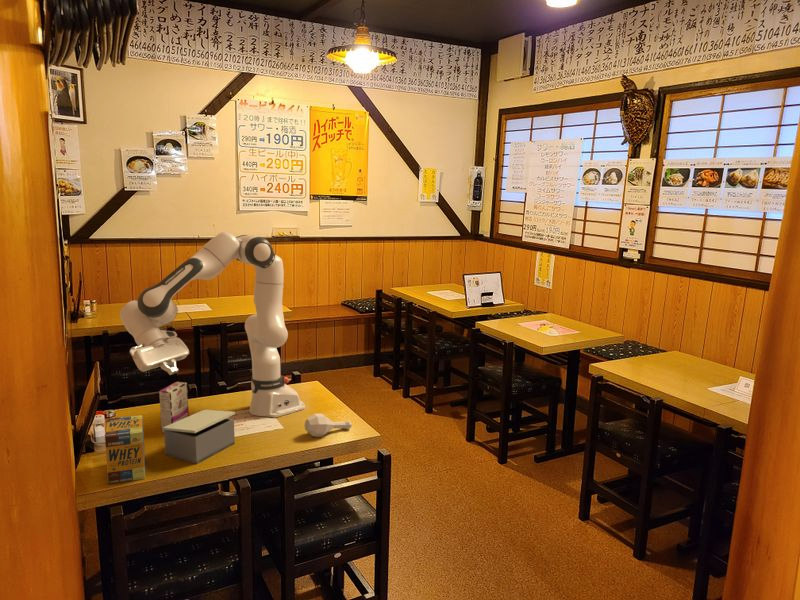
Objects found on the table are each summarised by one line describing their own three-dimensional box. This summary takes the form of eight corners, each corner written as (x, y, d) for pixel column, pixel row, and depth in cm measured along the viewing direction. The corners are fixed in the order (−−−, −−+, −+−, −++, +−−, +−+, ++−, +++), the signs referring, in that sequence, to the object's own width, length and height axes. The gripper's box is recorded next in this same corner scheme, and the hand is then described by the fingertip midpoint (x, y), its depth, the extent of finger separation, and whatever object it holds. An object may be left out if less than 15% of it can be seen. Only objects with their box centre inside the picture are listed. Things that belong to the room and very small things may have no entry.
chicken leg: (355, 435, 218) (355, 413, 220) (312, 436, 208) (312, 412, 210) (344, 437, 224) (344, 414, 226) (301, 437, 214) (302, 414, 216)
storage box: (165, 454, 196) (164, 429, 195) (204, 435, 212) (203, 412, 211) (196, 464, 190) (195, 438, 189) (234, 443, 206) (233, 419, 205)
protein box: (107, 485, 176) (104, 436, 173) (110, 463, 190) (107, 418, 187) (145, 479, 180) (142, 431, 177) (145, 458, 194) (142, 413, 191)
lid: (163, 429, 194) (162, 427, 194) (204, 411, 211) (204, 409, 211) (195, 433, 188) (194, 430, 188) (235, 414, 205) (234, 411, 204)
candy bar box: (177, 422, 224) (176, 381, 221) (189, 423, 223) (188, 382, 220) (160, 433, 213) (158, 390, 210) (172, 434, 212) (170, 391, 210)
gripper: (131, 342, 193) (154, 375, 190) (178, 330, 211) (200, 360, 209) (122, 354, 195) (145, 386, 193) (170, 341, 214) (191, 370, 211)
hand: (174, 372), depth 201 cm, fingers closed
